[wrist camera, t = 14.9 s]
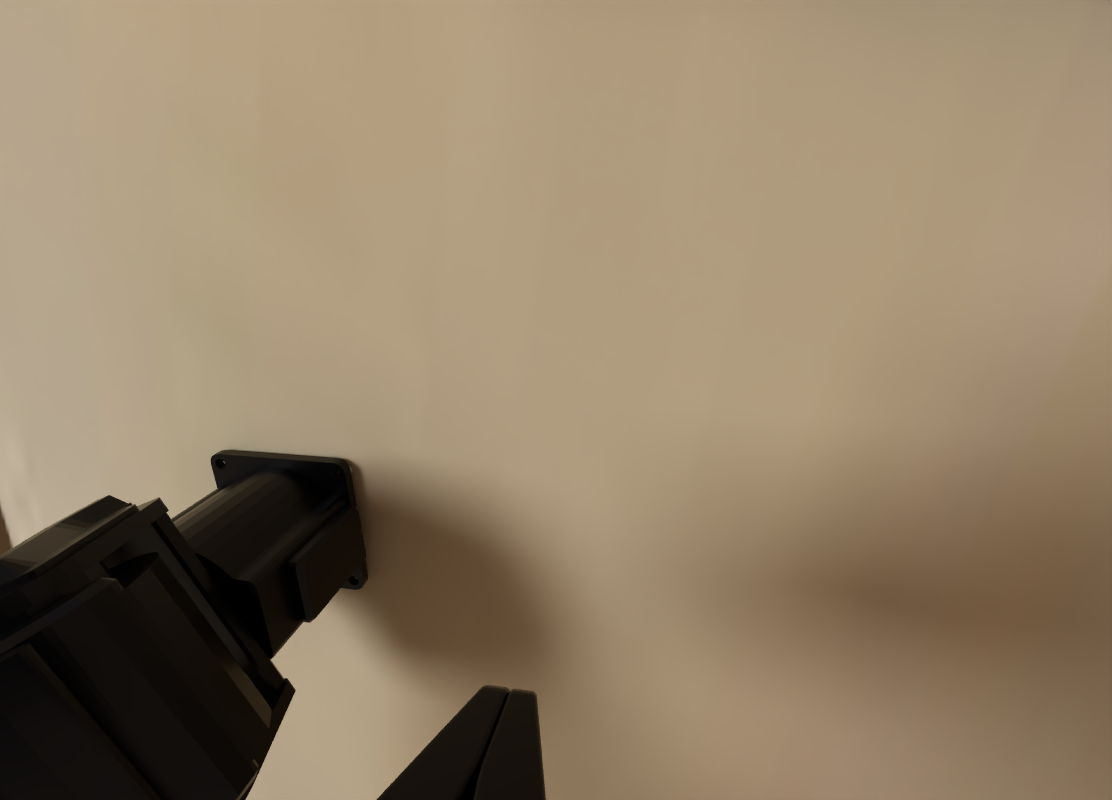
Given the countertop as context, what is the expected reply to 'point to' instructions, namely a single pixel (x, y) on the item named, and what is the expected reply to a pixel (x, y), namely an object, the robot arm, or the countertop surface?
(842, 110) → the countertop surface
